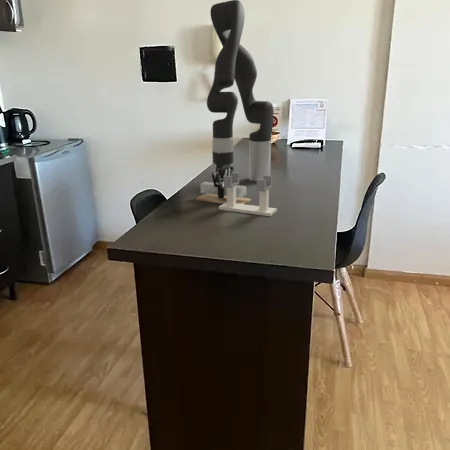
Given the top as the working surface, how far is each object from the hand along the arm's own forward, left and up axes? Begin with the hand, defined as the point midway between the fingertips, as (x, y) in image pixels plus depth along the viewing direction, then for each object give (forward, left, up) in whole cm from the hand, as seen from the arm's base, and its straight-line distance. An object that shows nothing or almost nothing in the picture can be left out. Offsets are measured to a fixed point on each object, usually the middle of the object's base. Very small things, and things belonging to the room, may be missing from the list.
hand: (223, 196), depth 167 cm
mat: (0, 0, -1) cm, 1 cm away
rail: (0, 0, +1) cm, 1 cm away
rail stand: (+8, +13, -1) cm, 15 cm away
